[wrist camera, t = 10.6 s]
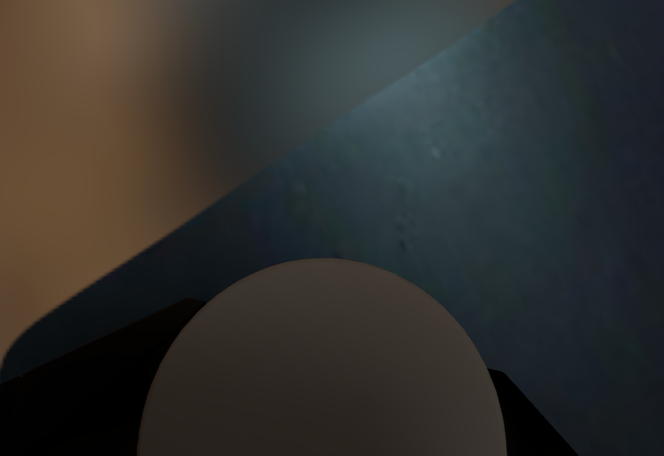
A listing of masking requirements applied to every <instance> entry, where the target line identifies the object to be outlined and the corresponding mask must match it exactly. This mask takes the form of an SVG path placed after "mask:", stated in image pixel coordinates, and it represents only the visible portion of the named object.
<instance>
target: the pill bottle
mask: <svg viewBox="0 0 664 456" xmlns="http://www.w3.org/2000/svg"><path fill="white" fill-rule="evenodd" d="M137 456H507V451H506V436H505V429H504V422H503V417H502V413H501V409H500V405H499V400H498V396H497V392H496V390H495V387H494V385H493V382H492V380H491V377H490V375H489V372H488V370H487V368H486V366H485V364H484V362H483V360H482V358H481V356H480V354H479V353H478V351H477V349H476V347H475V345H474V344H473V342H472V341H471V339H470V338H469V336H468V335H467V334H466V332H465V331H464V329H463V328H462V327H461V326H460V324H459V323H458V322H457V321H456V320H455V319H454V318H453V317H452V316H451V315H450V313H449V312H448V311H447V310H446V309H445V308H444V307H442V306H441V305H440V304H439V303H438V302H437V301H436V300H435V299H433V298H432V297H431V296H430V295H428V294H427V293H426V292H425V291H423V290H422V289H420V288H419V287H417V286H416V285H414V284H412V283H411V282H409V281H407V280H405V279H404V278H402V277H400V276H398V275H395V274H393V273H391V272H389V271H386V270H384V269H382V268H379V267H376V266H373V265H370V264H366V263H361V262H356V261H350V260H344V259H334V258H314V259H303V260H296V261H290V262H286V263H282V264H278V265H274V266H271V267H268V268H265V269H263V270H260V271H258V272H255V273H253V274H251V275H249V276H247V277H245V278H243V279H241V280H239V281H237V282H236V283H234V284H233V285H231V286H230V287H228V288H227V289H225V290H224V291H222V292H221V293H219V294H218V295H216V296H215V297H214V298H213V299H212V300H211V301H209V302H208V303H207V304H206V305H205V306H204V307H203V308H202V309H200V310H199V311H198V312H197V313H196V314H195V316H194V317H193V318H192V319H191V320H190V321H189V322H188V324H187V325H186V326H185V327H184V328H183V329H182V330H181V332H180V333H179V335H178V336H177V338H176V339H175V340H174V342H173V343H172V345H171V346H170V348H169V350H168V351H167V353H166V355H165V357H164V358H163V360H162V362H161V363H160V366H159V368H158V370H157V373H156V375H155V377H154V380H153V382H152V384H151V387H150V390H149V393H148V396H147V399H146V403H145V406H144V410H143V415H142V419H141V424H140V429H139V439H138V443H137Z"/></svg>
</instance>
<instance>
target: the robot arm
mask: <svg viewBox="0 0 664 456" xmlns="http://www.w3.org/2000/svg"><path fill="white" fill-rule="evenodd" d="M205 305H206V303H205V302H204V301H201V300H196V299H192V298H186V299H183V300H181V301H179V302H177V303H175V304H172V305H170V306H168V307H166V308H164V309H162V310H160V311H157V312H155V313H153V314H151V315H149V316H147V317H145V318H142V319H140V320H138V321H136V322H134V323H132V324H129V325H127V326H125V327H123V328H121V329H119V330H117V331H114V332H112V333H110V334H108V335H106V336H104V337H102V338H99V339H97V340H95V341H93V342H91V343H89V344H87V345H84V346H82V347H80V348H78V349H76V350H74V351H72V352H69V353H67V354H65V355H63V356H61V357H59V358H57V359H54V360H52V361H50V362H48V363H46V364H44V365H42V366H39V367H37V368H35V369H33V370H31V371H29V372H27V373H24V374H23V376H22V377H21V376H18V377H15V378H13V379H11V380H9V381H7V382H5V383H3V384H0V456H137V443H138V439H139V429H140V424H141V419H142V415H143V410H144V406H145V403H146V399H147V396H148V393H149V390H150V387H151V384H152V382H153V380H154V377H155V375H156V373H157V370H158V368H159V366H160V363H161V362H162V360H163V358H164V357H165V355H166V353H167V351H168V350H169V348H170V346H171V345H172V343H173V342H174V340H175V339H176V338H177V336H178V335H179V333H180V332H181V330H182V329H183V328H184V327H185V326H186V325H187V324H188V322H189V321H190V320H191V319H192V318H193V317H194V316H195V314H196V313H197V312H198V311H199V310H200V309H202V308H203V307H204V306H205ZM487 370H488V372H489V375H490V377H491V380H492V382H493V385H494V387H495V390H496V392H497V396H498V400H499V405H500V409H501V413H502V417H503V422H504V429H505V436H506V451H507V456H578V454H577V453H576V452H575V451H574V450H573V449H572V448H571V447H570V445H569V444H568V443H567V442H566V441H565V440H564V439H563V438H562V437H561V435H560V434H559V433H558V432H557V431H556V430H555V429H554V428H553V426H552V425H551V424H550V423H549V422H548V421H547V420H546V419H545V418H544V416H543V415H542V414H541V413H540V412H539V411H538V410H537V409H536V408H535V406H534V405H533V404H532V403H531V402H530V401H529V400H528V399H527V397H526V396H525V395H524V394H523V393H522V392H521V391H520V390H519V389H518V387H517V386H516V385H515V384H514V383H513V382H512V381H511V380H510V379H509V377H508V376H507V375H506V374H505V373H503V372H501V371H497V370H493V369H489V368H487Z"/></svg>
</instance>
